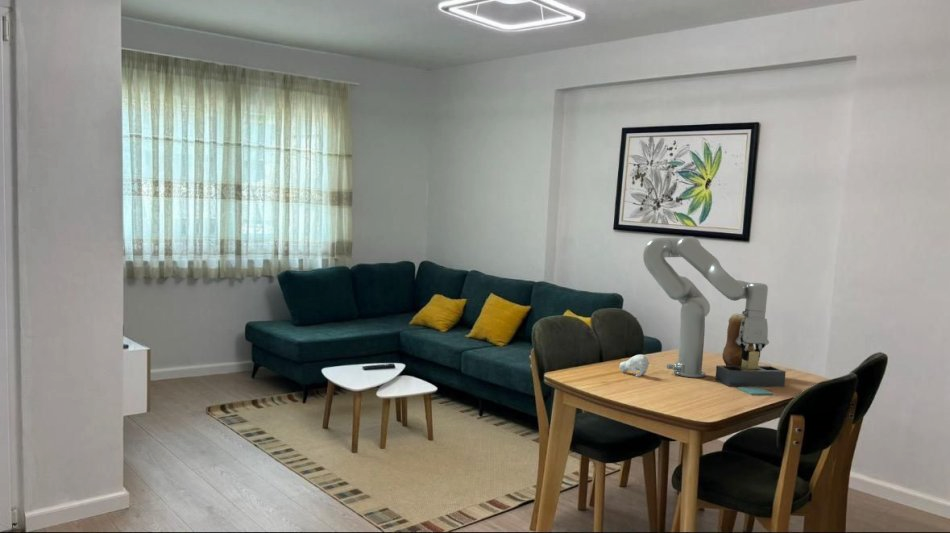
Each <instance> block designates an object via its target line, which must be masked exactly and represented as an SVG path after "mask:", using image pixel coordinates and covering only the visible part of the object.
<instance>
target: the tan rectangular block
mask: <svg viewBox="0 0 950 533" xmlns="http://www.w3.org/2000/svg"><path fill="white" fill-rule="evenodd" d="M747 351H748V360H747V361H745V360H743V359H742V365H741V367H742V368H744V369H747V370H758V366H759V363H760V362H759V361H760V358H759V352H758V351H755V350H750V349H747Z"/></svg>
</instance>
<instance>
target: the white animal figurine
mask: <svg viewBox="0 0 950 533" xmlns="http://www.w3.org/2000/svg"><path fill="white" fill-rule="evenodd" d="M649 364H650V362H649V358H648V357H647V356H646V355H644V354H636V355H634V356H632V357H631V358H629V359H627V360H625V361H621V362H620V364H619V369H620V371H621V372H622V373H623V374H624V373H627V372H628V371H631V373H634V374H635V373H636V374H635V378H638V377H641V376H644V375H646V373H647V370H648V368H649ZM637 371H639V372H637Z"/></svg>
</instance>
